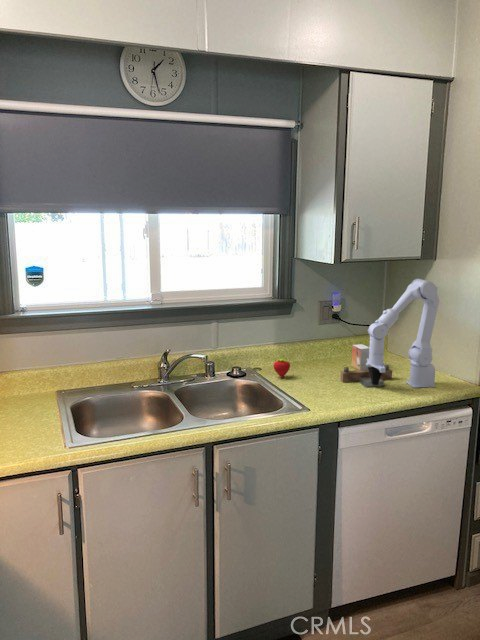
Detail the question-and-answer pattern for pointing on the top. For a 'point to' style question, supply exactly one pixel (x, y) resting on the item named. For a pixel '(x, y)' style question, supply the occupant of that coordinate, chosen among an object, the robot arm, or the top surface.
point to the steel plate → (369, 382)
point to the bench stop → (363, 374)
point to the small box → (360, 356)
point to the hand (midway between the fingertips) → (375, 384)
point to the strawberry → (281, 367)
